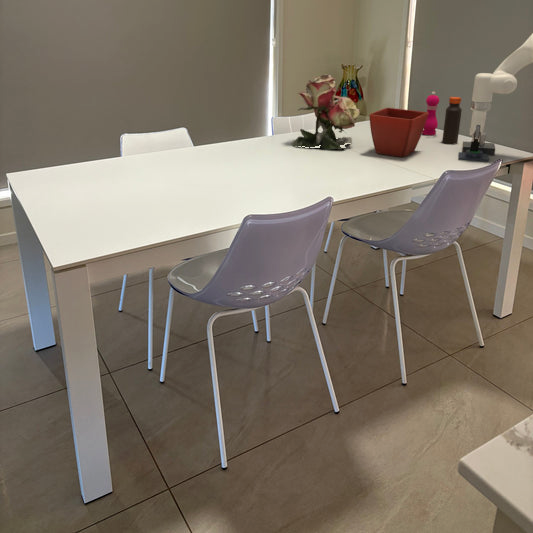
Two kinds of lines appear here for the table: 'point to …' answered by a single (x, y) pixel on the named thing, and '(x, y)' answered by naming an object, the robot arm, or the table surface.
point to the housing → (473, 156)
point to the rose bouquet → (327, 114)
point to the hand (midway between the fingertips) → (474, 150)
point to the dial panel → (480, 148)
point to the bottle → (452, 121)
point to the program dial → (482, 139)
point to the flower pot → (396, 130)
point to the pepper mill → (431, 115)
